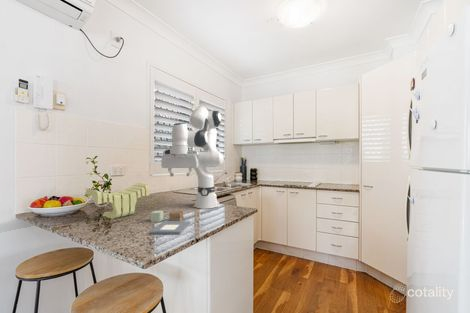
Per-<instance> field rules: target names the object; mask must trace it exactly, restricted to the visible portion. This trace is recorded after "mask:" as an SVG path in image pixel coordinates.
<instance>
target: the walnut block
mask: <svg viewBox="0 0 470 313" xmlns="http://www.w3.org/2000/svg"><path fill="white" fill-rule="evenodd" d="M184 214H185V211H184V210H183V209H181V210H172V211H170V212H169V213H168V221H184V217H185V216H184Z"/></svg>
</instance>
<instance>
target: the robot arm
mask: <svg viewBox="0 0 470 313" xmlns="http://www.w3.org/2000/svg"><path fill="white" fill-rule="evenodd" d="M221 122H222V114H221V112H220V111H219V110H211V111H209V110H208V109H207V107H205V106H197V108H195V109H194V110H193V112H192V113H191V114H190V116H189V123H190V125H191V126H192V127H193V128H195V129H197V130H189V129H188V124H187V123H185V122H179V123H176V122H175V123H173V125H172V128H171V140H172V144H171V148H168V149H165V150H162V155H163V156H162V157H161V164H160V165H161V168H162V169H167V172H168V173H169V177H174V175H175V174H174V173H173V172H172V169H184V168H185V169H188V172H187V173H186V177H190V176H191V172H192V171H193V170H194V171H195V173H196V176H197V182H198V183H197V184H198V186H197V193H196V194H195V204H193V207H194V208H197V209H203V210H204V209H213V208H218V207H220V202H219V200H218V199H217V194H216V192H215V191H216V190H215V189H216V188H215V177H214V174H213V173H212V172H209V171H208V170H207V168H216V167H221V166H222V165H223V164H224V161H225V159H224V155H223V153H222V152H220V151H219V150H218V149H217V140H218V132H217V128H218V127H219V125H221ZM194 147H195V148H202V150H204V151H194V150H193V151H189V148H194Z"/></svg>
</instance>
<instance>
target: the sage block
mask: <svg viewBox="0 0 470 313" xmlns="http://www.w3.org/2000/svg"><path fill="white" fill-rule="evenodd" d="M161 221H162V222H163V221H164V210H153V211H151V212H150V222H151V223H161Z"/></svg>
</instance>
